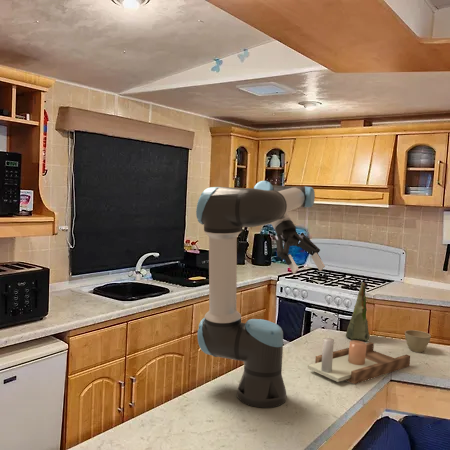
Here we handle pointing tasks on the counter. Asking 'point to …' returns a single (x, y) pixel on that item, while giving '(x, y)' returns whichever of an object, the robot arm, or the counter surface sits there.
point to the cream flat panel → (335, 363)
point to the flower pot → (417, 340)
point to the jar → (357, 352)
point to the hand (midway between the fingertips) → (309, 270)
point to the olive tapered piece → (359, 318)
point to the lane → (382, 367)
